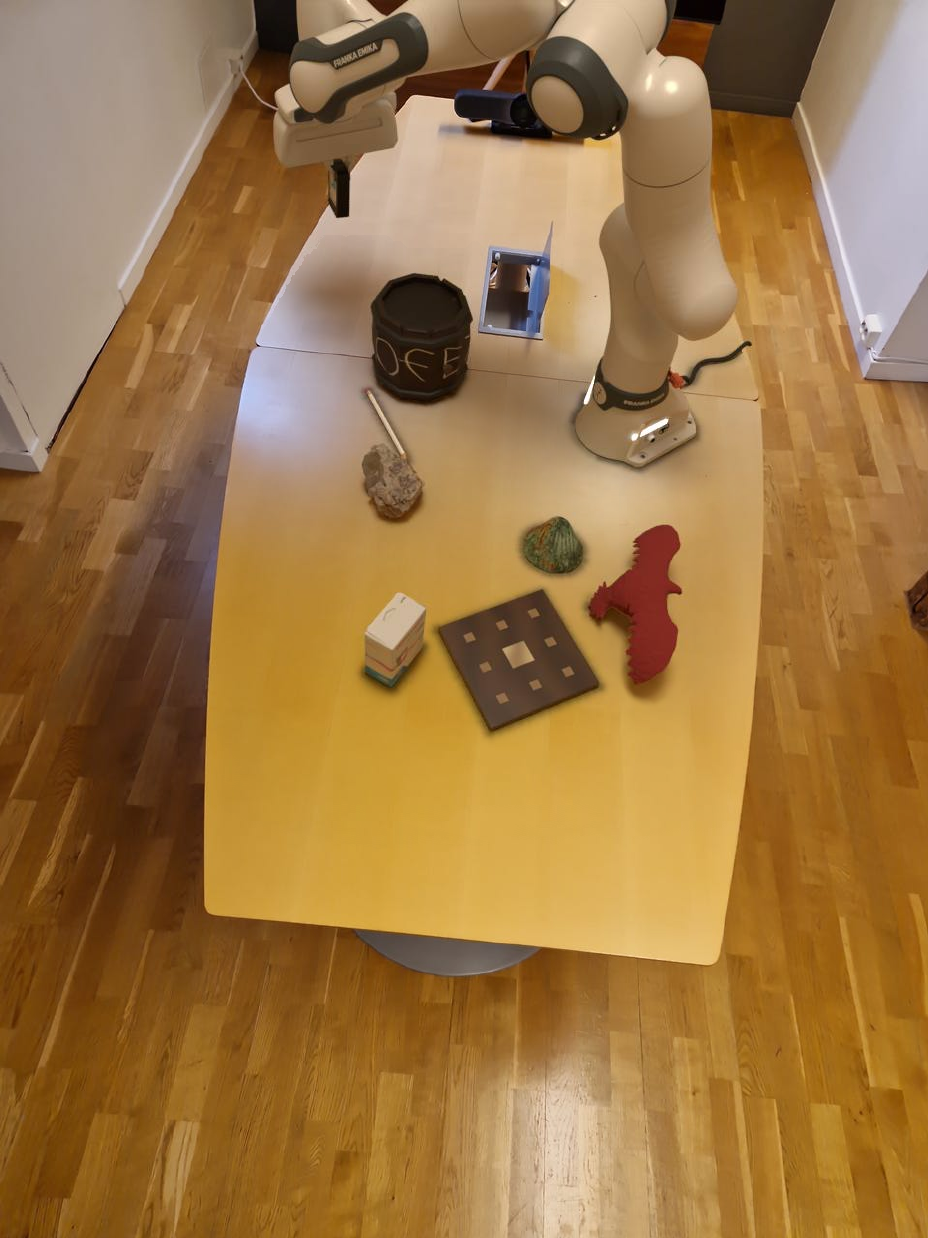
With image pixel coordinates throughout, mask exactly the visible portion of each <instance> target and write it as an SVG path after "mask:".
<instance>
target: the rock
mask: <svg viewBox="0 0 928 1238" xmlns="http://www.w3.org/2000/svg"><path fill="white" fill-rule="evenodd" d="M361 469H362V474H363V475H364V477H365V485H366V489H367V491H368V492H367V495H368V496H369V498H372V499H373V500H374V503H375V504H376V509H377V512H378V513H379V514H380V515H382V516H385V517H389V518H390V519H391V518H393V519H397V518H401V517H402V516H403V515H404V513H406V512H409V510H410V509H411V507H412V506H413V505H414V504H416V502H417V500H418V499H419V497H420V496H421V495H422V494H423V488H424V487H425V485H426V483H425V481H424V480H422V479H421V478H420V477H419V475H418V474H417V470H415V469H414V468H413V465H412V464H411V463H409V460H408V458H407V456H406V457H404V456H401V455H399V454H398V453H396V451H395V450H393V449H391V448H390V447H389V446H388V445H387V444H385V443H383V442H382V443H380V444H373V445H371V447H370V451H369V452H367V453H366V454H365V455H364V456H363V460H362V462H361Z"/></svg>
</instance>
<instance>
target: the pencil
mask: <svg viewBox="0 0 928 1238" xmlns="http://www.w3.org/2000/svg"><path fill="white" fill-rule="evenodd" d="M365 393H366V394H367V396H368V398H369V399H370V401H371V403H372V405H373V407H374V408H375V410H376V412H377V414H378V416H379V417H380V419H381V421H382V423H383V425H384V427H385V428H386V431H387V432H388V434H389V436H390V438H391V439H392V442H393V443H394V445H395V447H396V449H397V450H398V453H399V454H400V456H404V457H406V458H407V454H406V452H405V451H404V448H403V446H402V445H401V443H400V441H399V440H398V438H397V436H396V434H395V432H394V430H393V429H392V427H391V425H390V424H389V422H388V420H387V417H386V416H385V415H384V413H383V411H382V409H381V407H380V405H379V404H378V402H377V400H376V399H375V396H374V395H373V392H372V391H371V389H370V388H365Z"/></svg>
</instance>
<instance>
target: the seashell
mask: <svg viewBox="0 0 928 1238" xmlns="http://www.w3.org/2000/svg"><path fill="white" fill-rule="evenodd" d="M523 540H524V542H523V546H524V547H523V552H524V553H525V554H524V556H525V558H526V559H527V560H528V562H530V563H531V564H532V565H533V566H534V567H537V568H539V569H540V570H543V571H545V572H548V573H551V574H552V573H554V574H562V573H569V572H572V571H573V570H575V569H576V568H578V566H579V565H581V563H582V561H583V555H584V547H583V545H582V543H581V541H580V539H579V538H578V537H577V536H576V533H575V531H574V528H573V526H572V524H571V522H569V520H568V519H566V518H565V517H563V516H559V515H557V516H553V517H551V518H550V519H547V520H546V521H545V522H543V523H542V524H540V525H537V526H535V527H532V528H531V529H529V530H528V532H526V536H525V538H523Z"/></svg>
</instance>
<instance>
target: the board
mask: <svg viewBox="0 0 928 1238" xmlns="http://www.w3.org/2000/svg"><path fill="white" fill-rule="evenodd" d="M437 631H438V633H439V635H440V637H441V639H442V642H443V643H444V645H445V647H446V649H447V651H448V653H449V654H450V656H451V658H452V660H453V663H454V665H455V667H456V668H457V670H458V672H459V673H460V675H461V678H462V680H463V682H464V684H465V685H466V687H467V690H468V691H469V693H470V695H471V697H472V699H473V700H474V703H475V705H476V706H477V709H478V711H479V713H480V714H481V716H482V718H483V720H484V722H485V724H486V726H487V727H488V730H489V732H492V731H494V730H497V729H499V728H503V727H504V726H508V724H511V723H513V722H516V721H519V720H521V719H524V718H526V717H528V716H531V715H534V714H535V713H538V712H540V711H543V710H545V709H547V708H550V707H552V706H555V705H557V704H560V703H562V702H565V701H568V700H569V699H571V698H574V697H576V696H579V695H582V694H584V693H586V692H588V691H591V690H594V689H596V688H598V687H599V686H600V681H599V679H598V678H597V676H596V675H595V673H594V671H593V670H592V667H591V666H590V664H589V663H588V661H587V660H586V658H585V656H584V655H583V652H581V650H580V648H579V647H578V645H577V643H576V642H575V640H574V638H573V636H572V635H571V633H570V632H569V629H568V628H567V627H566V625H565V623H564V622H563V620H562V618H561V617H560V616H559V613H558V612H557V610H556V608H555V607H554V605H553V604H552V602H551V600H550V599H549V597H548V595H547V594H546V592H545V591H544V589H543V588H542V589H538V590H536V591H533V592H530V593H528V594H525V595H523V596H520V597H519V596H518V597H517V598H514V599H511V600H509V601H507V602H504V603H501V604H498V605H495V606H492V607H490V608H487V609H483V610H482V611H478V612H477V613H474V614H471V615H468V616H466V617H462V618H460V619H456V620H453V621H452V622H449V623H446V624H443V625H440V626H439V627H438V630H437Z"/></svg>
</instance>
